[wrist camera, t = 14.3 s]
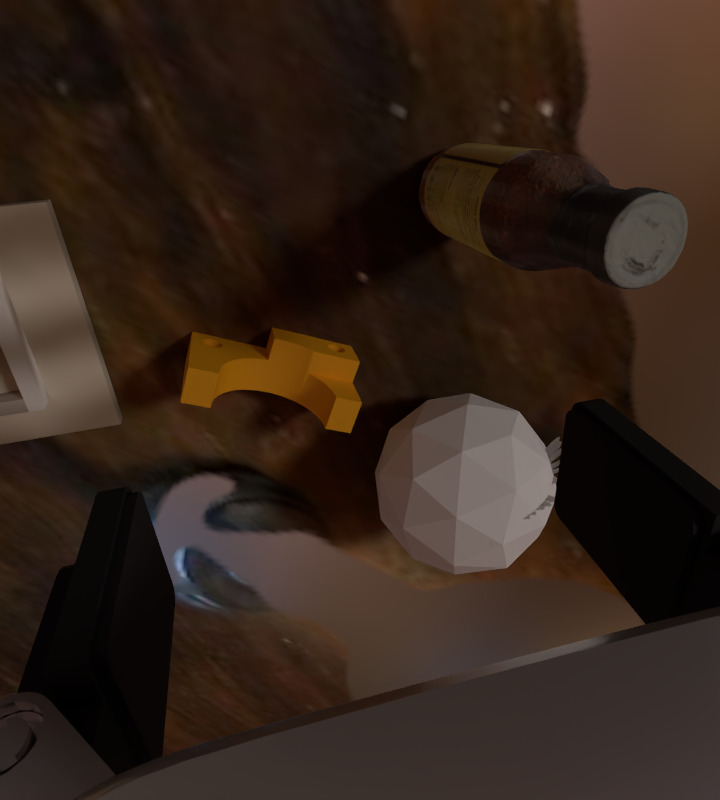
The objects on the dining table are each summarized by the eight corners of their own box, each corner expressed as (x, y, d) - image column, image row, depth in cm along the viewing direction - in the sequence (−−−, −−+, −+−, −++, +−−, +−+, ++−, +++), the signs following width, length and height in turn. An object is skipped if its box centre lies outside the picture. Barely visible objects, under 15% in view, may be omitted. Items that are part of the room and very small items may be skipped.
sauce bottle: (444, 249, 42) (601, 354, 25) (398, 181, 39) (540, 247, 22) (514, 191, 41) (727, 258, 24) (472, 116, 38) (683, 132, 21)
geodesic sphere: (463, 321, 45) (555, 404, 33) (541, 425, 52) (641, 526, 40) (325, 435, 47) (363, 553, 35) (418, 520, 54) (476, 643, 42)
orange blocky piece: (350, 345, 44) (370, 380, 38) (334, 392, 46) (350, 433, 40) (197, 308, 40) (193, 342, 34) (185, 361, 41) (180, 402, 36)
